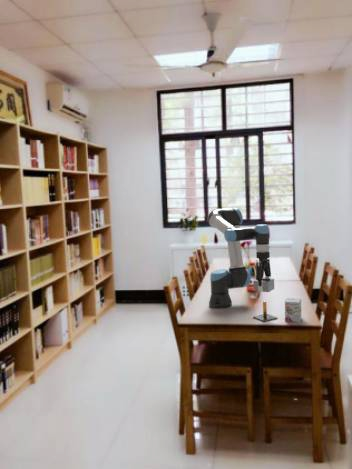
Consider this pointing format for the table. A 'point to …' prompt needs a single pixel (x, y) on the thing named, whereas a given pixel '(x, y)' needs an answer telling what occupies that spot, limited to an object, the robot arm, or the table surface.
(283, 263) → the table surface
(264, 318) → the post
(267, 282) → the link
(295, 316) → the ink box
